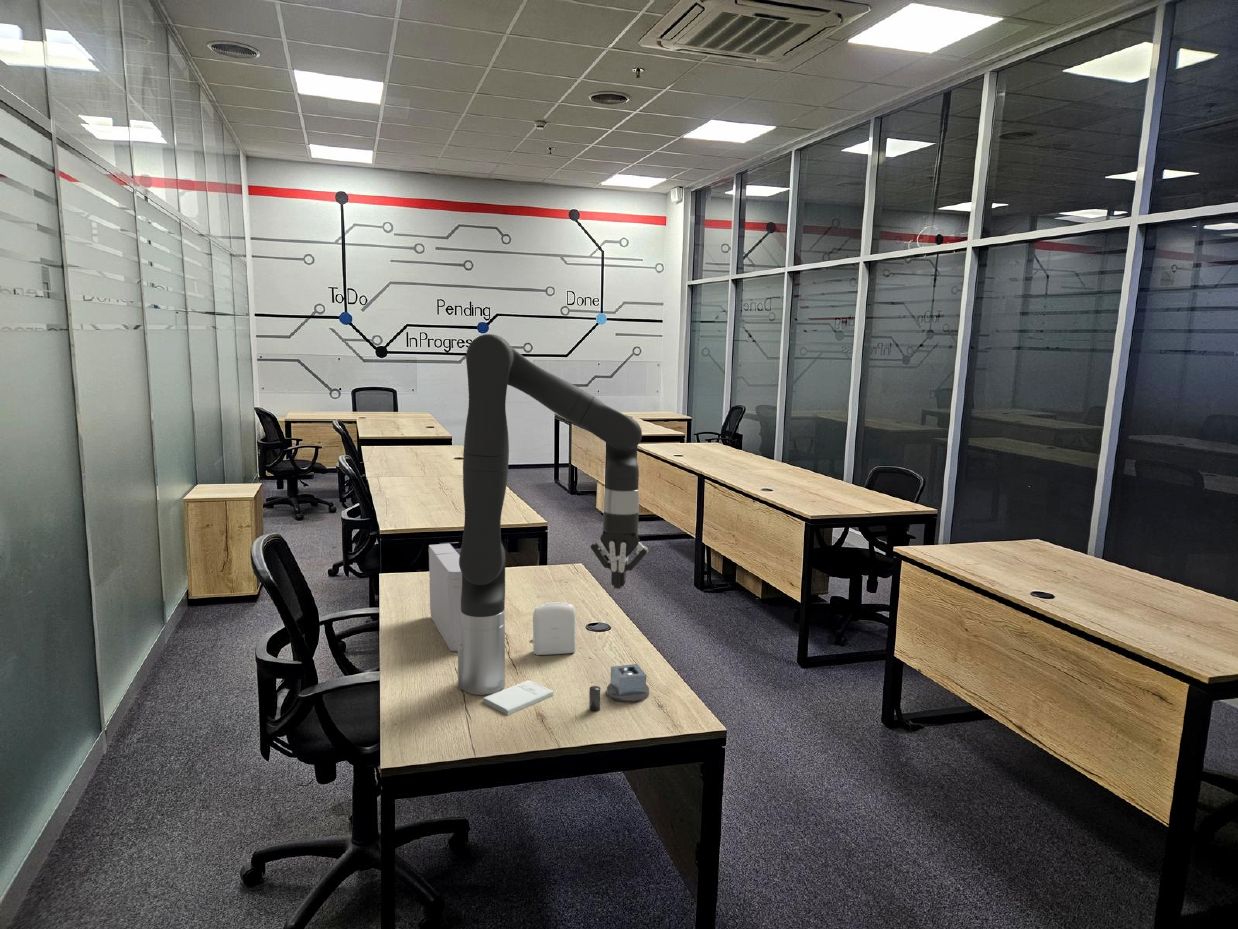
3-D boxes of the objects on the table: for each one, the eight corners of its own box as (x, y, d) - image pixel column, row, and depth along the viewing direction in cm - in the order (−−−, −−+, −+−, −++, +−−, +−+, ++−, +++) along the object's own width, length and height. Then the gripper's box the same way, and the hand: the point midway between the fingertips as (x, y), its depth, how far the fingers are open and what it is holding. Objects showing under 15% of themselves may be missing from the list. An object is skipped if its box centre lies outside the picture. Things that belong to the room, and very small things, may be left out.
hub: (602, 699, 160) (602, 679, 159) (612, 681, 169) (612, 662, 168) (644, 705, 158) (644, 684, 157) (652, 686, 167) (652, 667, 166)
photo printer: (533, 656, 182) (533, 607, 180) (532, 649, 186) (532, 601, 184) (576, 654, 183) (576, 605, 181) (574, 647, 187) (574, 599, 186)
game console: (450, 653, 183) (448, 572, 180) (429, 616, 208) (427, 545, 205) (473, 649, 185) (473, 570, 182) (450, 613, 210) (449, 543, 207)
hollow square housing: (618, 696, 159) (619, 678, 159) (610, 684, 165) (610, 666, 164) (645, 693, 161) (646, 675, 161) (636, 681, 167) (637, 663, 166)
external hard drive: (482, 704, 158) (528, 685, 167) (507, 717, 153) (553, 697, 162) (482, 697, 158) (528, 678, 167) (507, 710, 152) (553, 690, 161)
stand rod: (588, 710, 155) (588, 690, 154) (590, 706, 157) (591, 685, 156) (598, 712, 154) (598, 691, 154) (601, 707, 157) (601, 686, 156)
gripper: (586, 510, 160) (584, 589, 163) (647, 515, 157) (644, 596, 160) (596, 503, 167) (593, 579, 170) (655, 508, 164) (651, 586, 167)
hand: (618, 587), depth 165 cm, fingers closed
